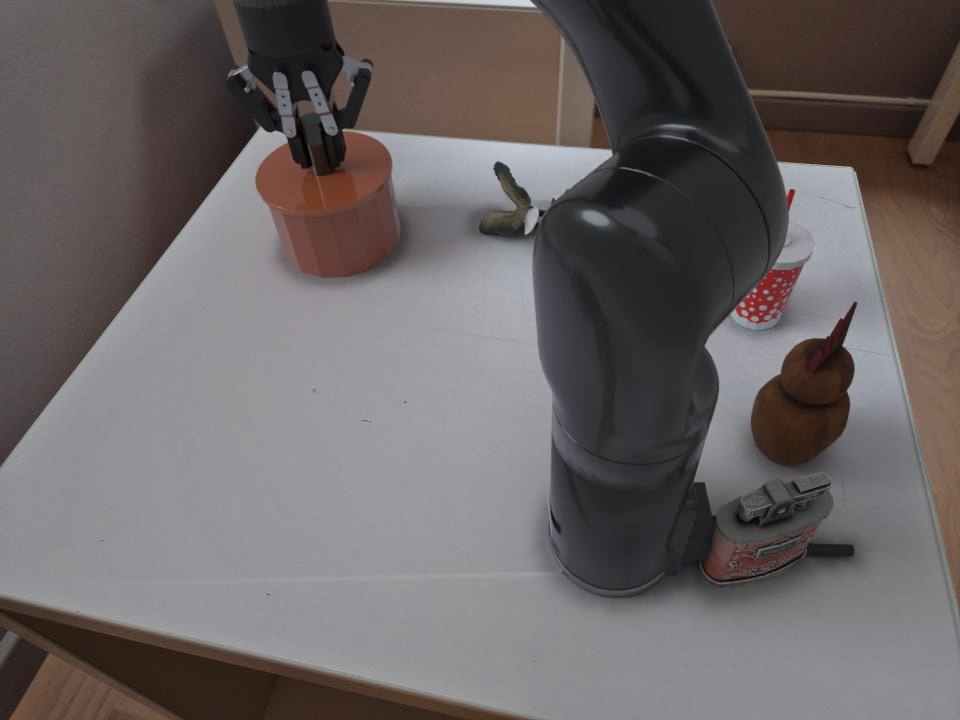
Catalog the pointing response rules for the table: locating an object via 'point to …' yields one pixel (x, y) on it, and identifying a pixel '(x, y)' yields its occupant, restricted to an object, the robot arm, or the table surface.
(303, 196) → the lid
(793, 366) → the wooden figurine
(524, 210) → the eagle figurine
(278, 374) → the table surface
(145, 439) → the table surface
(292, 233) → the pot
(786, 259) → the beverage cup
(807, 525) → the lighter
